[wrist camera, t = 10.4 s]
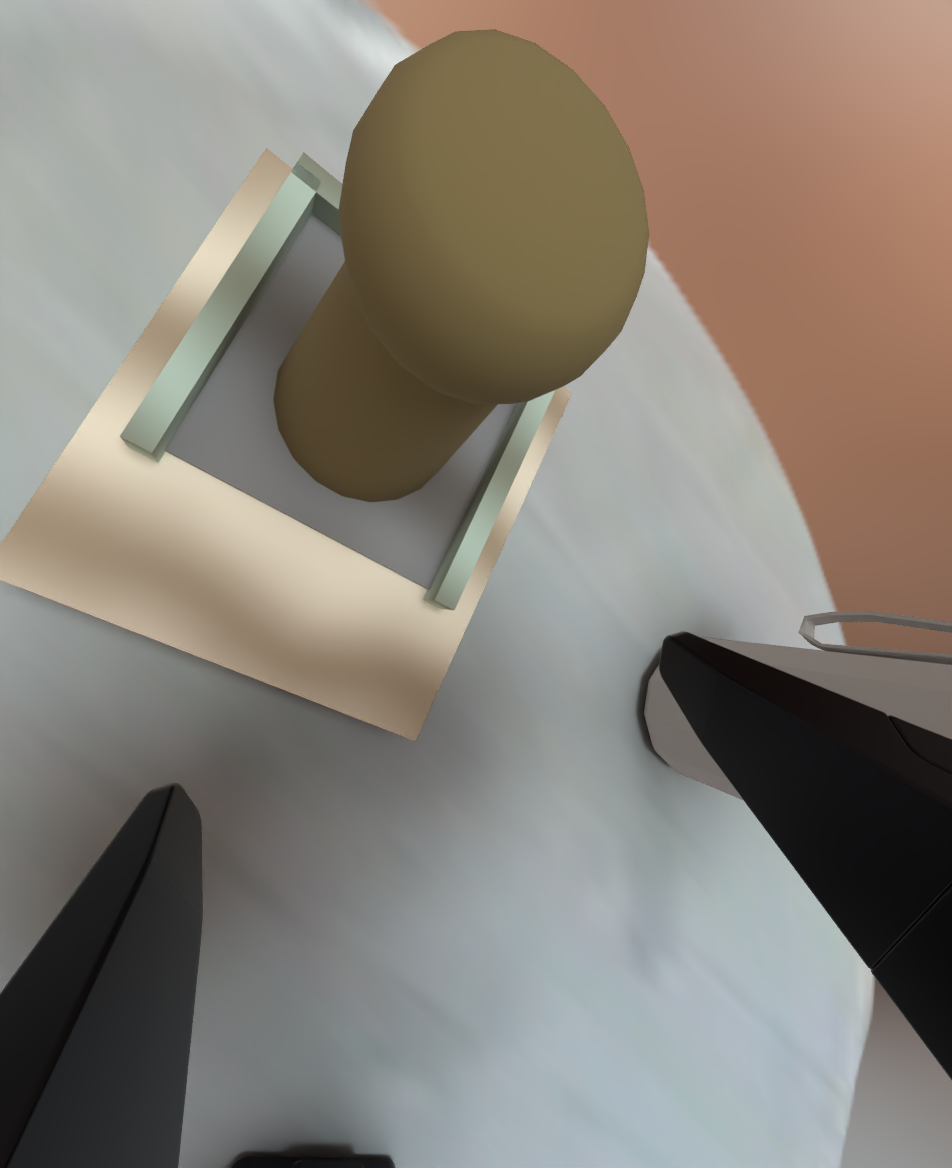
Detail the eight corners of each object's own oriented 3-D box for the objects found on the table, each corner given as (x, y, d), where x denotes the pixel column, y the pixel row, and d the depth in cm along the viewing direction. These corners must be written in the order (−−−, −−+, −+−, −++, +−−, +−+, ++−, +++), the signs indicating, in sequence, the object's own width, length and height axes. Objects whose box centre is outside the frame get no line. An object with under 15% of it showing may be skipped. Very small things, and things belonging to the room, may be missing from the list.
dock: (395, 723, 20) (426, 751, 17) (20, 574, 15) (-41, 571, 12) (539, 412, 23) (590, 382, 20) (262, 202, 18) (268, 115, 15)
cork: (230, 415, 15) (214, 92, 5) (348, 282, 17) (509, -164, 7) (390, 538, 17) (595, 473, 7) (482, 410, 19) (756, 211, 9)
